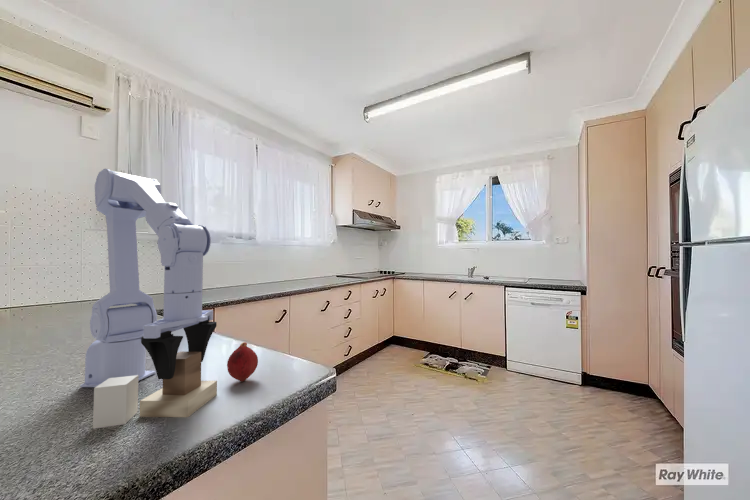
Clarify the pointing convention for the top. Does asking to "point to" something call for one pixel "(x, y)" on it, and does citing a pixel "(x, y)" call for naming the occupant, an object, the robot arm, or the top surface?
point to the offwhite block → (115, 401)
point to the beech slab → (177, 402)
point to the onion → (242, 362)
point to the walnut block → (184, 374)
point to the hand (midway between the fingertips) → (182, 369)
